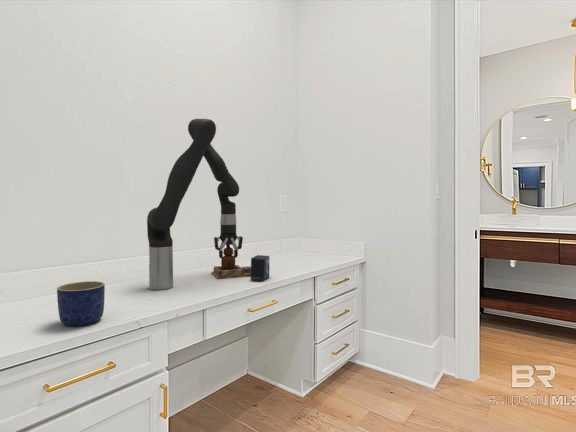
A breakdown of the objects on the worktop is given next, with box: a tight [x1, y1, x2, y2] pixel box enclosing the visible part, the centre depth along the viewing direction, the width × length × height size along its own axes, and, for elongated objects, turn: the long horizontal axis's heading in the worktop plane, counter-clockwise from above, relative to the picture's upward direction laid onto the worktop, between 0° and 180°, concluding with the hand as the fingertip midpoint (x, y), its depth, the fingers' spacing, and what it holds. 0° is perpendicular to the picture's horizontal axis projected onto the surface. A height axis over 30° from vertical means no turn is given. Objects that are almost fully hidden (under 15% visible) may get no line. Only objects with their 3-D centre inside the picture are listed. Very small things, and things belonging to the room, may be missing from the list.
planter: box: [56, 280, 106, 327], centre depth 111 cm, size 12×12×11 cm
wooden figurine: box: [220, 242, 236, 270], centre depth 181 cm, size 7×6×15 cm
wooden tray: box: [211, 264, 251, 280], centre depth 182 cm, size 20×14×4 cm
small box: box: [250, 254, 270, 283], centre depth 172 cm, size 11×6×10 cm, turn 168°
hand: (228, 258), depth 181 cm, fingers closed on wooden figurine, 6 cm apart
